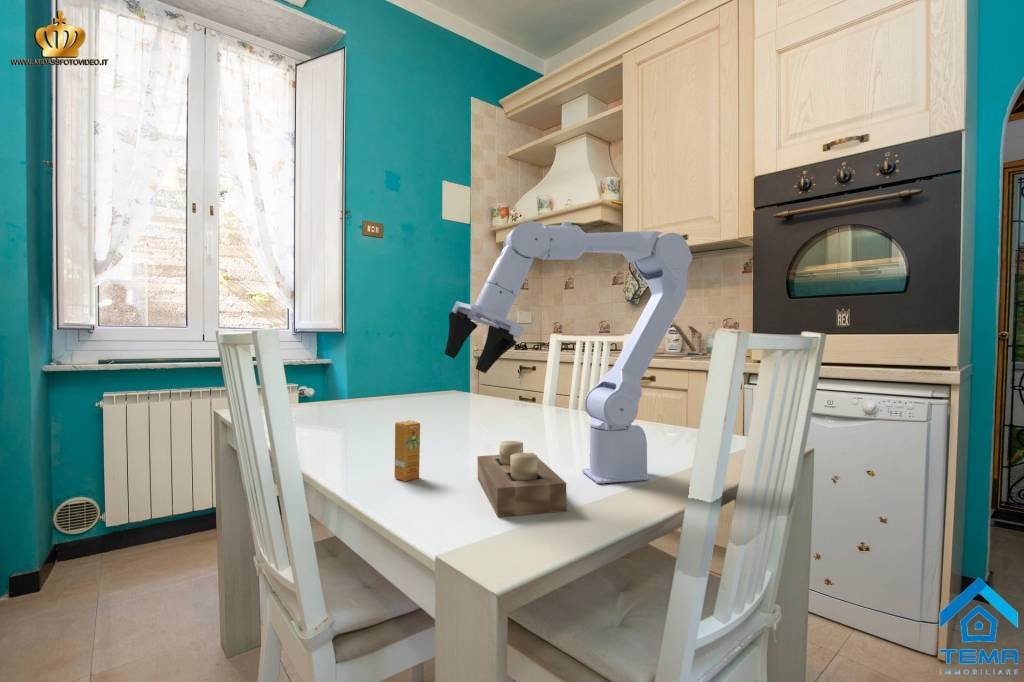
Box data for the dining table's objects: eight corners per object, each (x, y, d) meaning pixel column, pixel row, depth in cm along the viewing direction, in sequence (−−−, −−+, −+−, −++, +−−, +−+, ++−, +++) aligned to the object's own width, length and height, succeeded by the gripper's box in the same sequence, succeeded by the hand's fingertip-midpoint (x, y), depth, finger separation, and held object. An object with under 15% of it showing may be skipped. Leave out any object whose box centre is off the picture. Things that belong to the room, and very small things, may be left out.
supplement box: (406, 482, 86) (405, 424, 86) (393, 478, 89) (393, 422, 88) (421, 477, 89) (420, 421, 89) (409, 474, 91) (408, 419, 91)
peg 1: (520, 462, 86) (520, 440, 86) (525, 468, 82) (525, 445, 82) (497, 464, 85) (497, 441, 85) (501, 470, 82) (501, 446, 82)
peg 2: (533, 477, 78) (533, 452, 77) (540, 484, 74) (540, 458, 74) (508, 479, 77) (508, 453, 77) (513, 486, 73) (513, 460, 73)
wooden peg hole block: (532, 474, 90) (532, 452, 90) (566, 510, 71) (566, 482, 71) (477, 478, 88) (477, 456, 88) (497, 517, 69) (497, 488, 69)
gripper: (457, 270, 85) (420, 342, 84) (520, 290, 76) (481, 371, 75) (481, 288, 90) (447, 355, 89) (542, 308, 81) (506, 383, 80)
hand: (464, 363), depth 82 cm, fingers open, 7 cm apart
